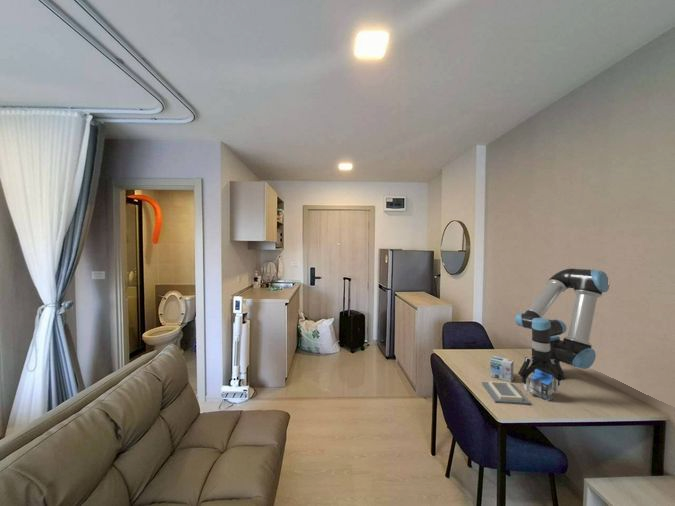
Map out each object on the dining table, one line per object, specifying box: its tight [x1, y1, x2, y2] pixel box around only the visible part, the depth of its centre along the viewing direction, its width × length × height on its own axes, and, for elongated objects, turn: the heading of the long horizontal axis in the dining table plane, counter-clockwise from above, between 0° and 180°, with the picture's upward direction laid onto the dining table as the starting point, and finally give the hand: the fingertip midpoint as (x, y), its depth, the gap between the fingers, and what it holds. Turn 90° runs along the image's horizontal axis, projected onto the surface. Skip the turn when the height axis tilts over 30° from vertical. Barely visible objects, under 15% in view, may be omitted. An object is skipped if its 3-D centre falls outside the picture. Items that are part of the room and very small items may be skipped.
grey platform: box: [481, 380, 532, 406], centre depth 140 cm, size 16×18×2 cm
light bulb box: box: [490, 355, 514, 383], centre depth 157 cm, size 11×7×11 cm, turn 47°
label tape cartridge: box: [529, 369, 553, 402], centre depth 137 cm, size 9×4×12 cm, turn 20°
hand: (540, 390), depth 137 cm, fingers open, 13 cm apart
